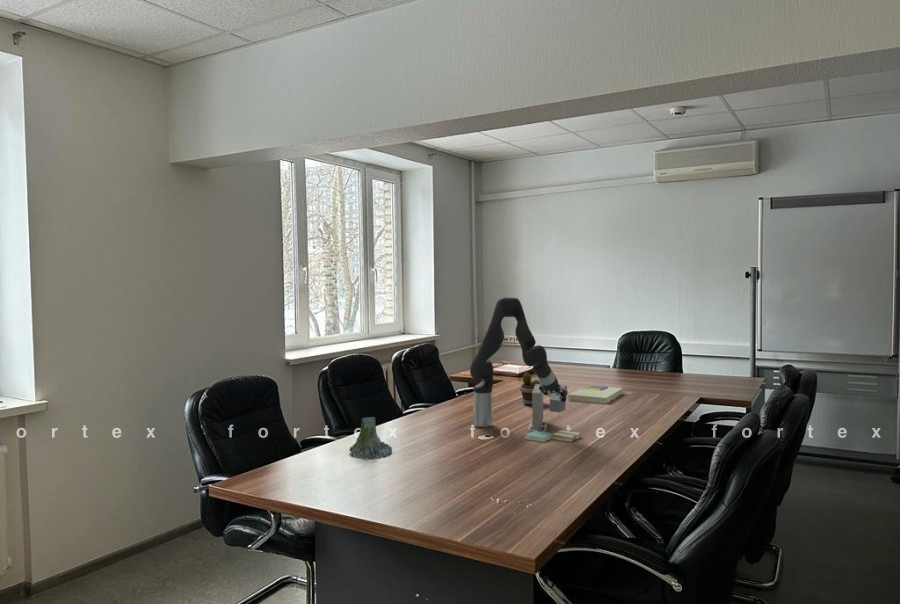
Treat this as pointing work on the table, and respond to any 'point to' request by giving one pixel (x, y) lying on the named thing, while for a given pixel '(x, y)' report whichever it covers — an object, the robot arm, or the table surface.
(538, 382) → the flowerpot
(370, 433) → the tree stump
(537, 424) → the network device
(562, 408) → the grey rectangular block
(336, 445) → the table surface
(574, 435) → the stand
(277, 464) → the table surface
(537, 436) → the stand
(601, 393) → the puzzle box
